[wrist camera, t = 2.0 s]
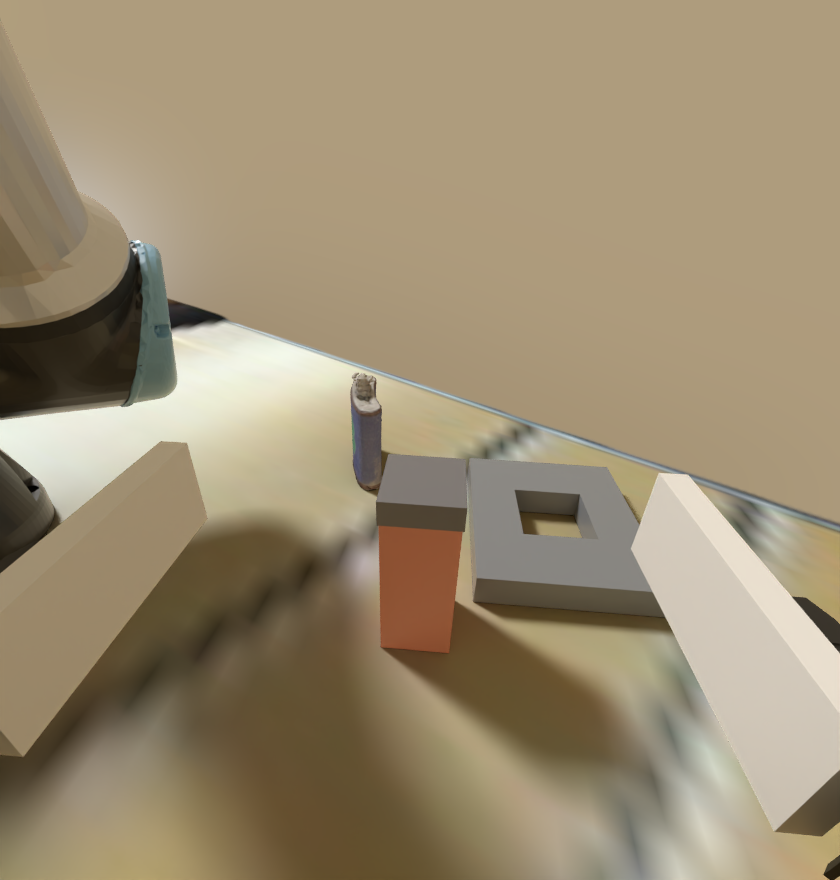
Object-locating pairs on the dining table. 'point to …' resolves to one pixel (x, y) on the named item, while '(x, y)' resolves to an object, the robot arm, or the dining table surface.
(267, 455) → the dining table surface
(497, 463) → the socket plate
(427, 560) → the plug
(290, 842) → the dining table surface
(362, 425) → the flask
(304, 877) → the dining table surface
